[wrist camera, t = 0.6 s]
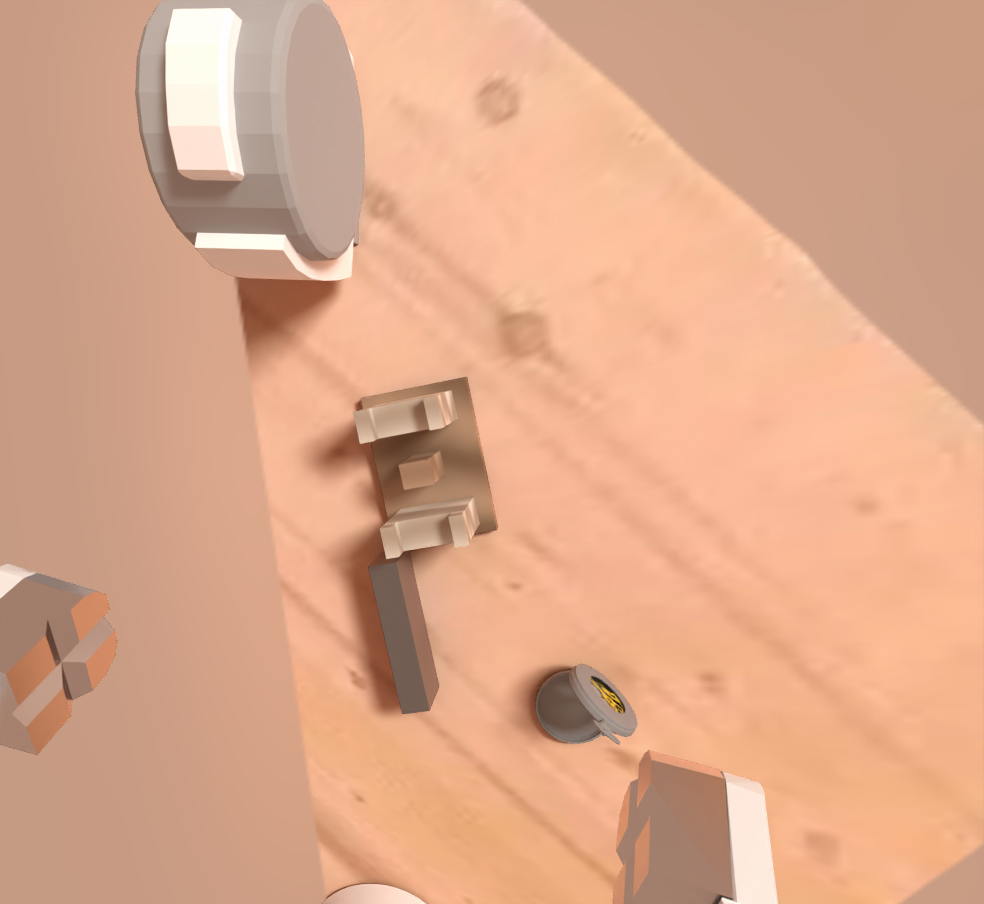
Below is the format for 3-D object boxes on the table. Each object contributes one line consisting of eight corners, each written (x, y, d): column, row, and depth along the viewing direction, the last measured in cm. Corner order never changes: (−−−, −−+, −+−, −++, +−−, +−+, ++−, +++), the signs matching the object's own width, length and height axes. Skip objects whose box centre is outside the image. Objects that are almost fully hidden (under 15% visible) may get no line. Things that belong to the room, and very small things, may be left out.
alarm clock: (277, 57, 55) (110, -104, 35) (381, 57, 54) (269, -109, 34) (279, 288, 58) (125, 258, 38) (378, 291, 57) (272, 262, 37)
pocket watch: (532, 730, 61) (524, 804, 52) (543, 642, 60) (537, 700, 50) (624, 746, 61) (634, 823, 51) (638, 656, 59) (650, 718, 49)
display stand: (497, 527, 59) (486, 553, 51) (397, 544, 60) (372, 571, 53) (467, 376, 57) (451, 381, 50) (364, 397, 59) (333, 405, 51)
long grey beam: (439, 685, 62) (429, 710, 58) (413, 688, 62) (400, 714, 58) (409, 546, 60) (396, 562, 56) (381, 551, 61) (367, 567, 56)
